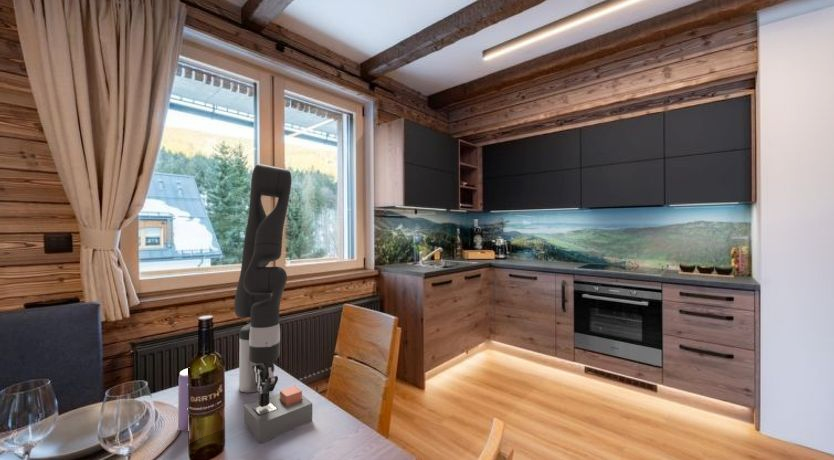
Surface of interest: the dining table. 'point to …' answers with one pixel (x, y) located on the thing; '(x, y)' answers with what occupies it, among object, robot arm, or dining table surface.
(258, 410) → the plug
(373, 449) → the dining table surface
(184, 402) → the beverage can
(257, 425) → the grey plug holder
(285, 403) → the orange cube
